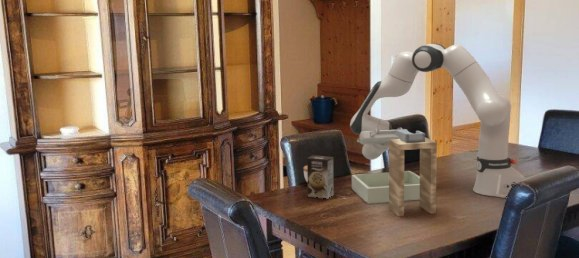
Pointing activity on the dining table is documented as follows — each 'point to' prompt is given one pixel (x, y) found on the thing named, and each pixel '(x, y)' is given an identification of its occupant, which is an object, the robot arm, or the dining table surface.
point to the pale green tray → (384, 186)
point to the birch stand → (426, 174)
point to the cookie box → (320, 176)
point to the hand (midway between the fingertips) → (389, 129)
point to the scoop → (410, 136)
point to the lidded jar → (306, 173)
